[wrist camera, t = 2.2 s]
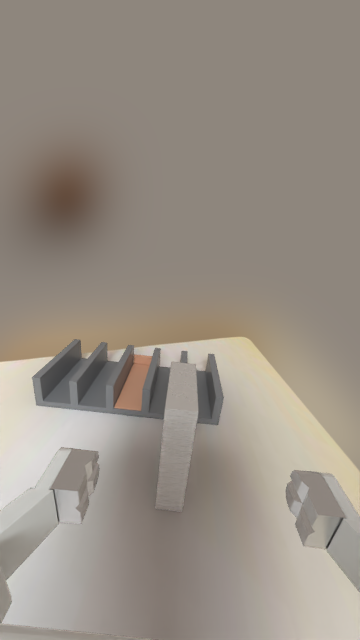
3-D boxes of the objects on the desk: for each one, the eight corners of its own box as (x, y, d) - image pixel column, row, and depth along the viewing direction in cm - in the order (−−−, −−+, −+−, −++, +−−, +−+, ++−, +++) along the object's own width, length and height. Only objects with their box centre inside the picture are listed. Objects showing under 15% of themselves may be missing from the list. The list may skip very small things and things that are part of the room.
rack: (36, 405, 37) (32, 377, 35) (77, 360, 51) (76, 338, 49) (217, 424, 37) (223, 397, 35) (210, 374, 51) (213, 352, 49)
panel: (155, 508, 25) (165, 408, 20) (163, 445, 32) (171, 361, 27) (182, 511, 25) (198, 412, 20) (183, 448, 32) (195, 364, 27)
